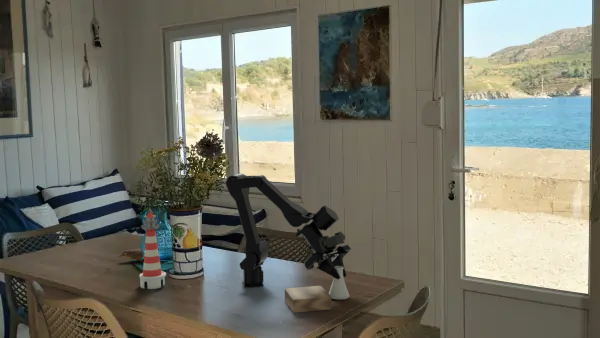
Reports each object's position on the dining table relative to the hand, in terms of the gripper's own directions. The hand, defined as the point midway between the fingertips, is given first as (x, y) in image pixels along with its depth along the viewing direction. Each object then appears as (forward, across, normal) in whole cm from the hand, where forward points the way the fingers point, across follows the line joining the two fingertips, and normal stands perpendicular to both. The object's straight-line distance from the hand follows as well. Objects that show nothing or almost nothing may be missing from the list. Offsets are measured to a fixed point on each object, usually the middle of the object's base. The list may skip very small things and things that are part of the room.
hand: (342, 277), depth 201 cm
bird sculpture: (-59, -11, +69) cm, 92 cm away
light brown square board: (+2, -13, +8) cm, 15 cm away
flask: (+4, 0, +6) cm, 7 cm away
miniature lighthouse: (-37, -31, +47) cm, 68 cm away
